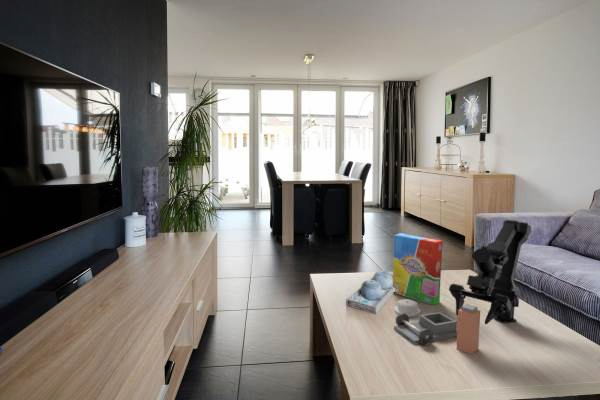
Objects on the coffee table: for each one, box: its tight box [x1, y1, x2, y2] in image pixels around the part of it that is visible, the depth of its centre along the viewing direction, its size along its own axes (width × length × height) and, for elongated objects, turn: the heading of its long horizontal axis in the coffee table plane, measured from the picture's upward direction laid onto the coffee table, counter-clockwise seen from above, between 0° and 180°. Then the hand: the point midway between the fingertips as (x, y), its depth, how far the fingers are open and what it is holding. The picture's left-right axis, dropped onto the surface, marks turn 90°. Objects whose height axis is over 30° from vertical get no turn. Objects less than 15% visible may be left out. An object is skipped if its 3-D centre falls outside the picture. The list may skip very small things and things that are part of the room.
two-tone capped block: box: [456, 303, 481, 355], centre depth 126 cm, size 5×5×14 cm
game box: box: [392, 232, 444, 306], centre depth 171 cm, size 21×6×27 cm, turn 42°
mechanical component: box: [393, 298, 421, 318], centre depth 156 cm, size 10×4×10 cm
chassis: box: [393, 311, 458, 345], centre depth 138 cm, size 22×15×5 cm
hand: (470, 319), depth 127 cm, fingers open, 9 cm apart
